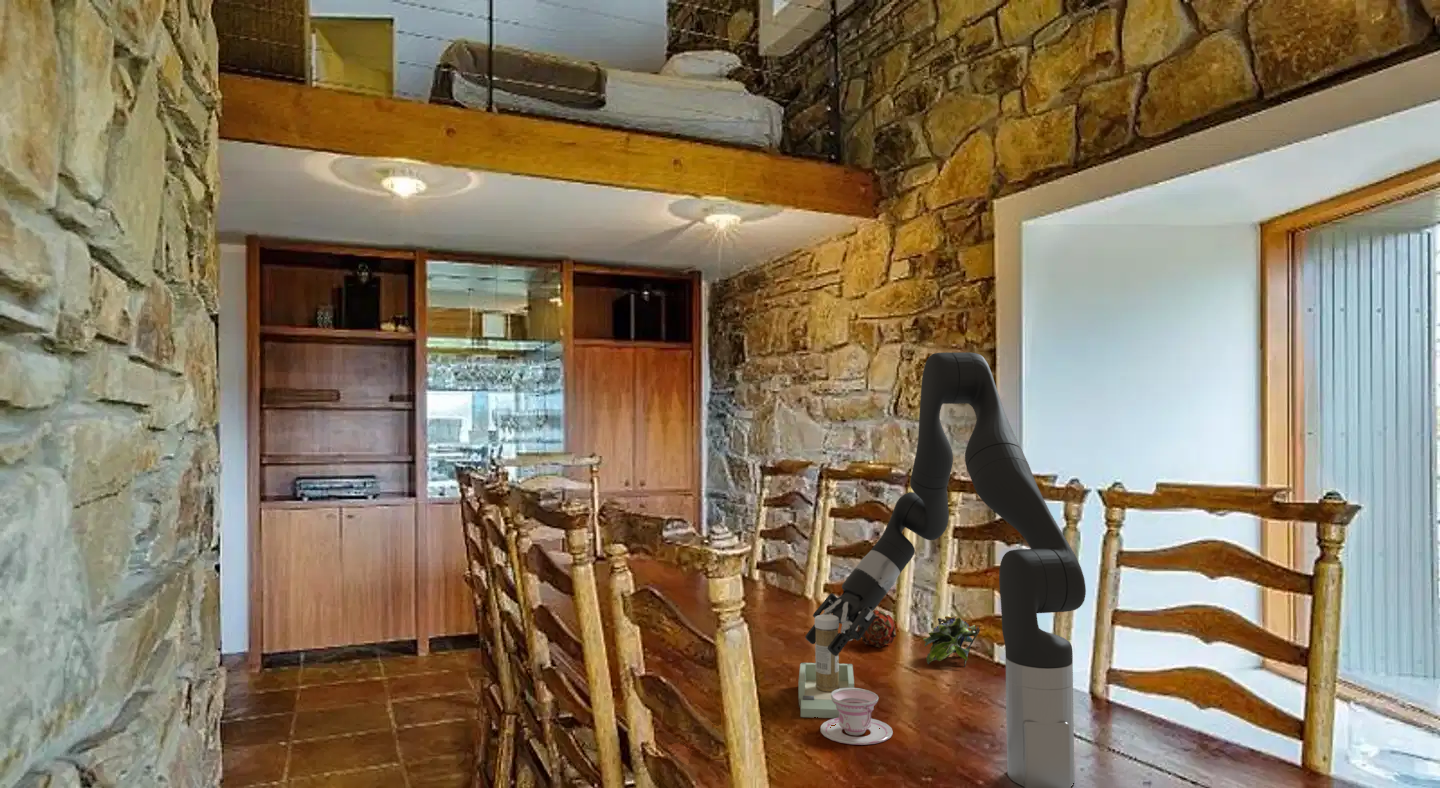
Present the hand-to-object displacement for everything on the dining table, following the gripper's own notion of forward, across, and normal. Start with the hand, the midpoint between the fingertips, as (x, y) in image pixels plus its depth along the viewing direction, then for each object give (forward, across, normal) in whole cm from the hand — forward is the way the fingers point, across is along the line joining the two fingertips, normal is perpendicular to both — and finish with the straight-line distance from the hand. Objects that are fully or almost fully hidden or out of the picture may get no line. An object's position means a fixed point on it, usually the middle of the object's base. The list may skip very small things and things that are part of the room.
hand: (819, 646), depth 163 cm
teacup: (+9, +17, +5) cm, 20 cm away
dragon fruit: (-14, -26, +28) cm, 41 cm away
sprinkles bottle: (+5, 0, +7) cm, 8 cm away
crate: (+7, +2, +7) cm, 10 cm away
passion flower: (-19, -8, +33) cm, 39 cm away
